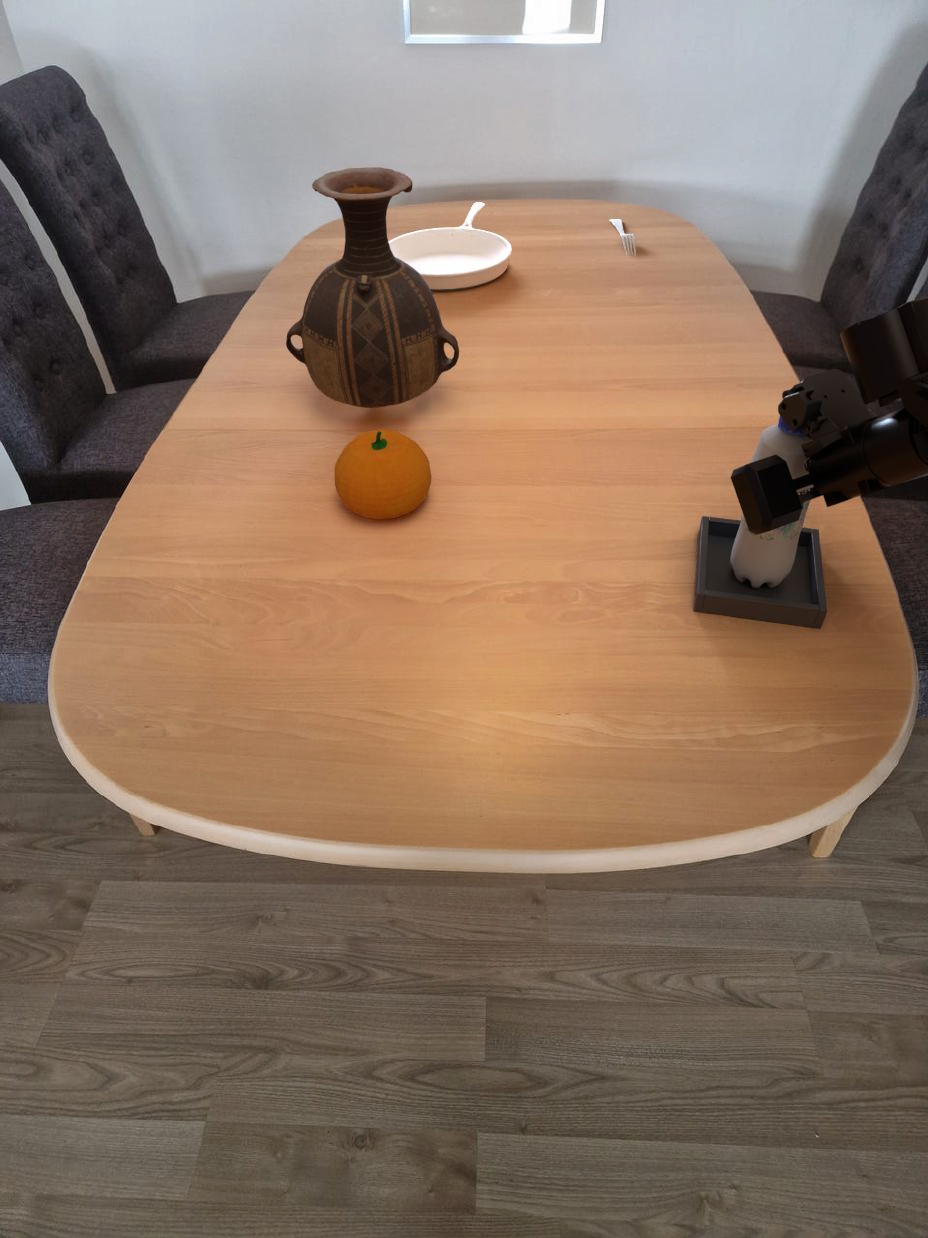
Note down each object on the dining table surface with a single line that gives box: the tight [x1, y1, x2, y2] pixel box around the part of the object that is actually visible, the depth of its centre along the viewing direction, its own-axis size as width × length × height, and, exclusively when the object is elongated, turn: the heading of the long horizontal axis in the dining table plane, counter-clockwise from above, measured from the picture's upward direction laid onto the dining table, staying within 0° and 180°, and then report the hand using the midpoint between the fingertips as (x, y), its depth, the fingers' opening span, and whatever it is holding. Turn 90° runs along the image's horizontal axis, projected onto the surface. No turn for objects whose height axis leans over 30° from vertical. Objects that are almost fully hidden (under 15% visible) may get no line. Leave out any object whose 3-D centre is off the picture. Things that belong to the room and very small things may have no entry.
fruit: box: [333, 428, 432, 520], centre depth 97 cm, size 12×12×10 cm
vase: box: [285, 166, 460, 409], centre depth 107 cm, size 23×19×30 cm
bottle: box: [730, 415, 814, 588], centre depth 80 cm, size 7×7×20 cm
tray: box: [693, 515, 828, 630], centre depth 87 cm, size 13×14×2 cm
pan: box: [388, 201, 513, 292], centre depth 158 cm, size 25×38×5 cm, turn 164°
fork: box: [609, 218, 637, 257], centre depth 164 cm, size 3×21×3 cm, turn 1°
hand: (768, 494), depth 81 cm, fingers closed on bottle, 6 cm apart
